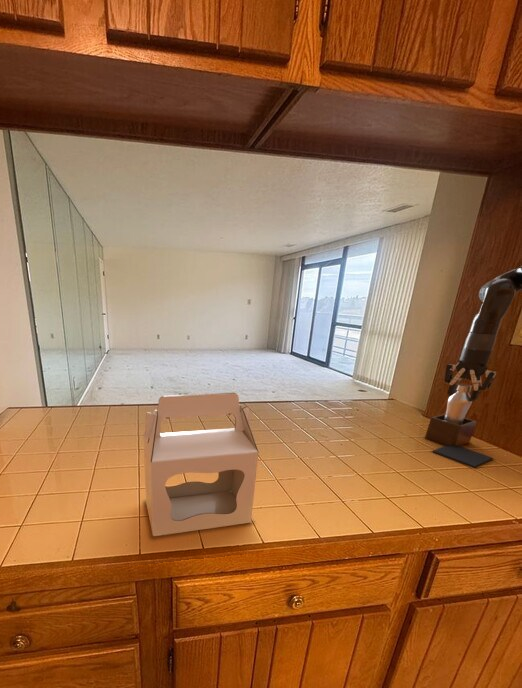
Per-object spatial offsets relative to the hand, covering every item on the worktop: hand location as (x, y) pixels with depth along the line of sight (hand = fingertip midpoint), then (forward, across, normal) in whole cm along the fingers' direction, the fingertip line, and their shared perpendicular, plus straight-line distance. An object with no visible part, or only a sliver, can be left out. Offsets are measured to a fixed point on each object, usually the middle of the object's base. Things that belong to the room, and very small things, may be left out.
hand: (461, 398), depth 116 cm
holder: (+16, 0, 0) cm, 16 cm away
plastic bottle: (+16, 0, 0) cm, 16 cm away
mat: (+16, -9, +9) cm, 20 cm away
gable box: (+16, +5, +100) cm, 101 cm away
